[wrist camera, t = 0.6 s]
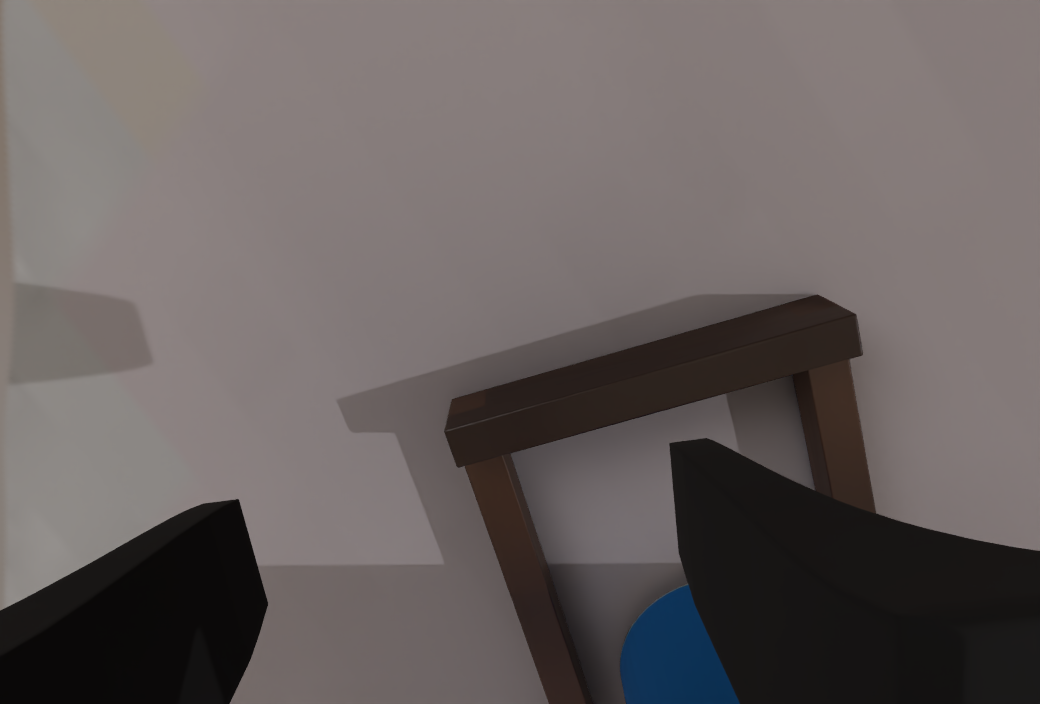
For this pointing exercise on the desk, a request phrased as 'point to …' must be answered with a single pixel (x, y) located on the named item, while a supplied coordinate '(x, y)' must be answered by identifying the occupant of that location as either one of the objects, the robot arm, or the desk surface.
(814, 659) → the robot arm
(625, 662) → the beverage can
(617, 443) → the desk surface
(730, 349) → the can track
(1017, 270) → the desk surface
